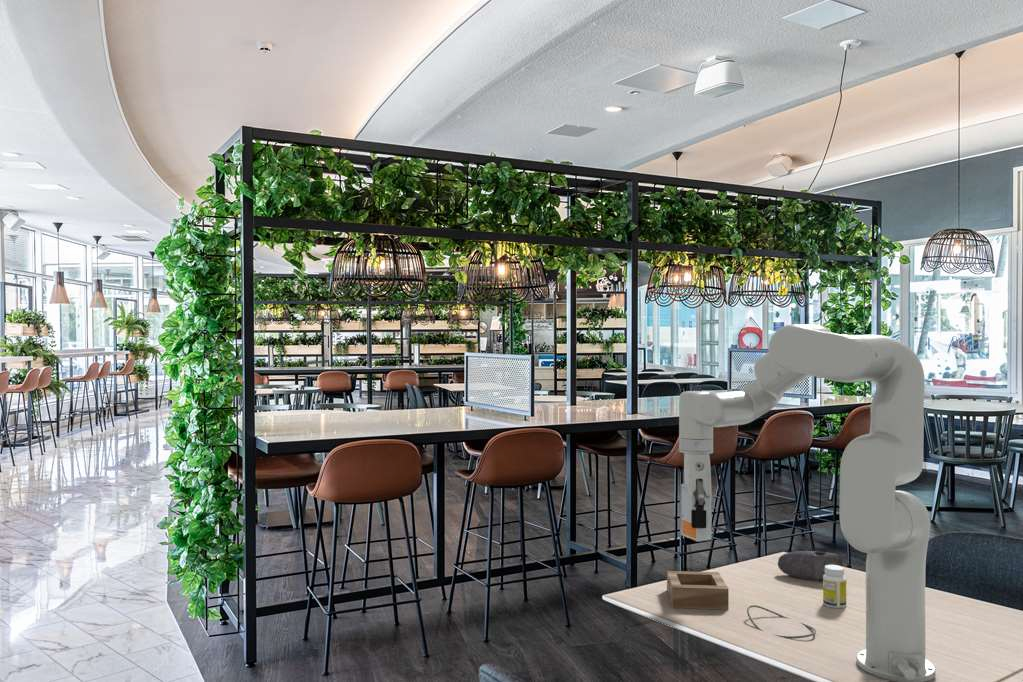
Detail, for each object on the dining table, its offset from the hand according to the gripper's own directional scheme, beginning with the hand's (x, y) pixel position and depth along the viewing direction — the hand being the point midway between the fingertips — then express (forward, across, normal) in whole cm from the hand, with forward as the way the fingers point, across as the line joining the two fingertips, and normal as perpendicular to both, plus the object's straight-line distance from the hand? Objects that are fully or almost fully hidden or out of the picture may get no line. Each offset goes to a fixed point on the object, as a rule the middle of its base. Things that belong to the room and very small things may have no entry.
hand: (696, 523), depth 173 cm
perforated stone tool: (+18, +18, -30) cm, 39 cm away
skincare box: (+4, 0, 0) cm, 4 cm away
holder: (+17, 0, 0) cm, 17 cm away
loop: (+18, -15, -15) cm, 28 cm away
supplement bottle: (+17, -1, -30) cm, 35 cm away
